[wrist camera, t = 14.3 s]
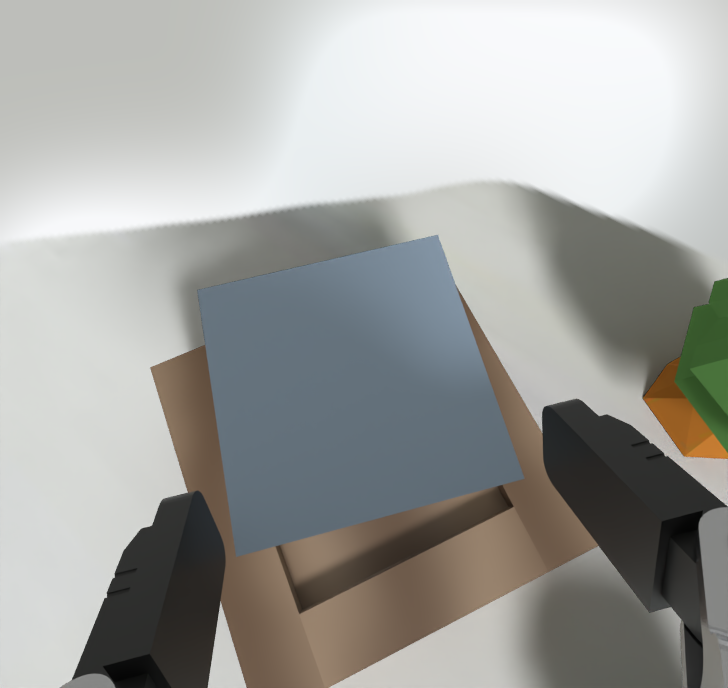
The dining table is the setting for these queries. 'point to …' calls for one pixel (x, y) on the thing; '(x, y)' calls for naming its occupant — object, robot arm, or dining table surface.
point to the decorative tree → (698, 383)
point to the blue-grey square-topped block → (349, 394)
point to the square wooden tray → (371, 549)
